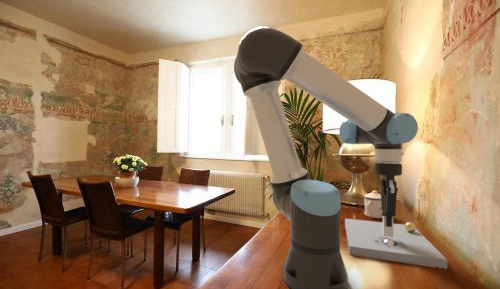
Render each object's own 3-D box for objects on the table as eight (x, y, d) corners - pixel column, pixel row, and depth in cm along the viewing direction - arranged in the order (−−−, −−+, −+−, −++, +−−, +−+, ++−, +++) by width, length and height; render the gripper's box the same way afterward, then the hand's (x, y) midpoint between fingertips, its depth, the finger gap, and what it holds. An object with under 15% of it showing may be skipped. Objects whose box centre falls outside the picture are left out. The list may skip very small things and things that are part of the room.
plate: (447, 269, 61) (447, 259, 61) (349, 254, 70) (349, 246, 70) (412, 232, 88) (412, 225, 88) (344, 224, 96) (344, 218, 96)
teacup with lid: (368, 211, 115) (369, 188, 115) (389, 216, 108) (389, 191, 108) (357, 216, 107) (357, 191, 107) (377, 221, 100) (378, 194, 100)
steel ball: (396, 252, 71) (396, 245, 70) (384, 253, 72) (383, 245, 71) (392, 243, 74) (392, 236, 73) (381, 244, 75) (380, 236, 74)
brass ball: (417, 234, 79) (417, 224, 79) (406, 233, 80) (406, 223, 80) (414, 230, 82) (414, 221, 82) (403, 229, 84) (403, 220, 84)
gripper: (407, 164, 67) (407, 245, 67) (396, 161, 79) (396, 230, 79) (378, 163, 70) (378, 241, 70) (371, 160, 82) (371, 227, 82)
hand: (387, 235), depth 74 cm, fingers closed
